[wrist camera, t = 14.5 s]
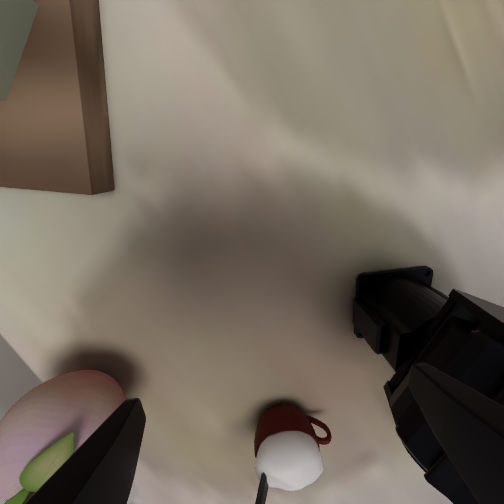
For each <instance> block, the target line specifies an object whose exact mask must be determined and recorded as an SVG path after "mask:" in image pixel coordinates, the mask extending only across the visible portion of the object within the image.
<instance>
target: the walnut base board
mask: <svg viewBox="0 0 504 504" xmlns="http://www.w3.org/2000/svg"><path fill="white" fill-rule="evenodd" d="M33 1H34V2H36V3H37V4H38V5H39V7H38V9H37V12H36V15H35V18H34V21H33V24H32V27H31V30H30V33H29V36H28V39H27V42H26V44H25V47H24V50H23V53H22V56H21V59H20V62H19V65H18V68H17V71H16V74H15V77H14V79H13V82H12V85H11V88H10V91H9V94H8V97H7V100H6V101H5V100H2V99H0V187H8V188H20V189H31V190H43V191H54V192H65V193H77V194H88V195H93V194H98V193H103V192H107V191H112V190H114V179H113V167H112V155H111V144H110V132H109V120H108V108H107V97H106V85H105V73H104V61H103V49H102V38H101V26H100V14H99V2H98V0H33Z"/></svg>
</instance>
